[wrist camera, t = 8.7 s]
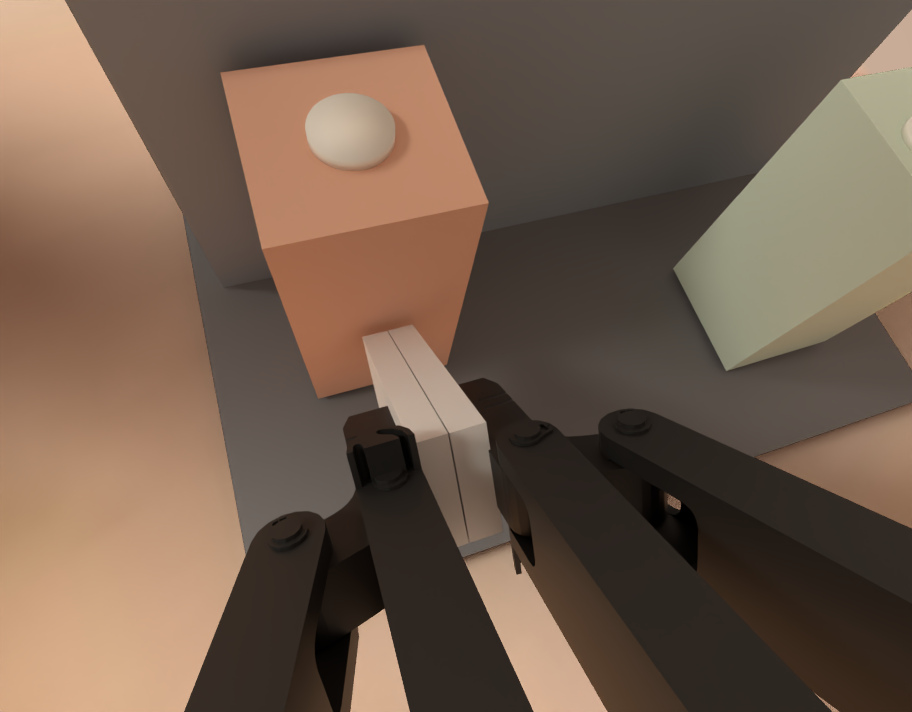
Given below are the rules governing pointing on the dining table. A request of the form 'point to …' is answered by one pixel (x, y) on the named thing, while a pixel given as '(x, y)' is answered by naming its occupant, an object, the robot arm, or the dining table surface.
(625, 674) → the robot arm
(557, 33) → the console
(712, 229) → the button two
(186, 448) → the dining table surface
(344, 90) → the button one
